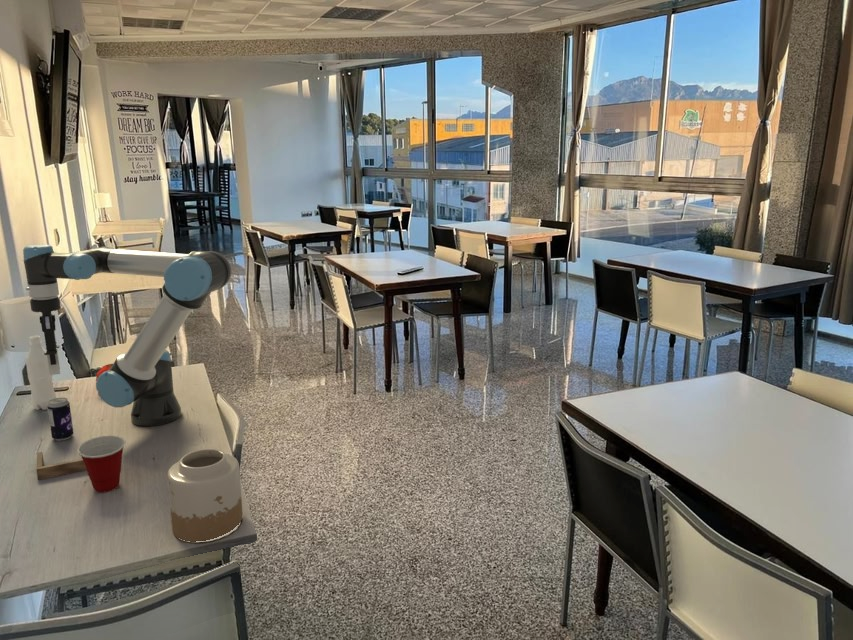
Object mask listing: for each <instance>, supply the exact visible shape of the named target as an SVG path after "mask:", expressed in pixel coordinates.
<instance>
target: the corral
mask: <svg viewBox="0 0 853 640" xmlns="http://www.w3.org/2000/svg"><path fill="white" fill-rule="evenodd" d="M44 463H45V461H44V455H43V451H39V452H37V453H36V469H35V470H36V475H37V480H38V481H39V480H44V479H49V478H53V477H59V476H63V475H68V474H69V475H70V474H74V473H79V472H84V471H87V469H86V466H85V463H84V461H83V459H82V458H78V459H74V460H73V459H72V460H68V461H63V462H59V463H58V462H57V463H54V464H53V463H52V464H48V465H45V464H44Z"/></svg>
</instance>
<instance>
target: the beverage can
mask: <svg viewBox="0 0 853 640" xmlns="http://www.w3.org/2000/svg"><path fill="white" fill-rule="evenodd" d="M48 403H49V404H48V406H47V407H48V409H47V413H48V420H49V426H50V427H49V428H50V434H51V438H52V439H54V440H55V441H61V440H62V441H65V440H68V439H71V437H72V436H73V435H74V428H73V427H74V426H73V420H72V419H73V418H72V412H71V404H70V402H69V400H68V398H67V397H56V398H55V399H52V400H50V401H49V402H48Z"/></svg>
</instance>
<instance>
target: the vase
mask: <svg viewBox="0 0 853 640" xmlns="http://www.w3.org/2000/svg"><path fill="white" fill-rule="evenodd" d="M166 475H167V477H166V478H167V488H168V499H169V509H170V510H169V511H170V518H171V527H172V528H171V529H172V533H173V535H174V537H175V538H177V537H178V538H180V539H182V540H185V541H190V542H196V541H206V540H210V539H214V538H217V537H219V536H222V535H224V534H226V533H228V532H230V531H231V530H233V529H234V528H235V527H236V526H237V525H239V523H240V522H241V520H242V521H243V518H242V516H243V502H242V501H243V500H242V499H243V498H242V489H241V487H242V486H241V472H240V463H239V461H238V459H237V458H236V457H235V456H233V455H231V454H228V453H225V452H224V451H223V450H220V449H217V448H202V449H197V450H193V451H191V452H188V453H186V454H185V455H183V456H182V457H181V458H180V460H178V461H176V463H173V464H172V465H171V466H170V468H169V469H168V471H167V474H166ZM243 517H244V516H243ZM178 538H177V539H178Z"/></svg>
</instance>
